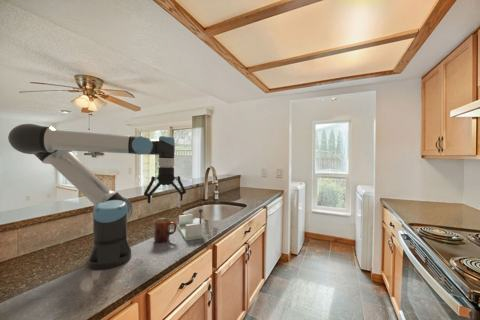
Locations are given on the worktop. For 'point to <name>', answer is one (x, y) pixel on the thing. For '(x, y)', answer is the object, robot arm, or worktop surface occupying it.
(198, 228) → the vise
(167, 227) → the mug
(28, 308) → the worktop surface
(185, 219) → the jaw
